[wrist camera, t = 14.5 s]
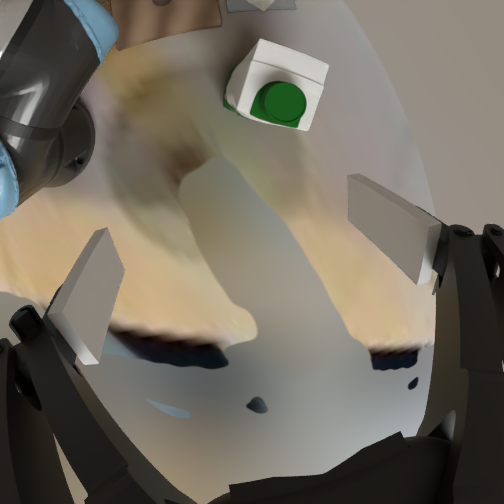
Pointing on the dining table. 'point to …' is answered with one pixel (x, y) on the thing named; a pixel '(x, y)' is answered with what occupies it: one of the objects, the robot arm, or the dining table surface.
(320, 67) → the milk carton
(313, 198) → the dining table surface
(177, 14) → the post stand
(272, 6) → the mat
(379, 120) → the dining table surface
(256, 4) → the white drawer box
